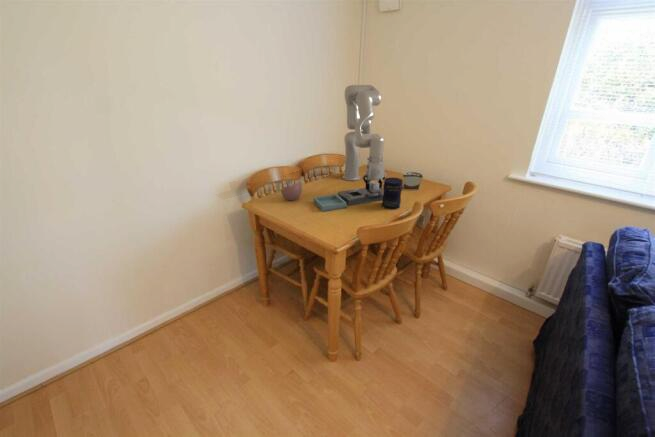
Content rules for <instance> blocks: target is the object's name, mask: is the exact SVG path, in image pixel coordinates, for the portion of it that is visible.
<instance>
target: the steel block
mask: <svg viewBox="0 0 655 437" xmlns="http://www.w3.org/2000/svg"><path fill="white" fill-rule="evenodd" d="M369 184H370V188H369V190H368V191H369V192H370V193H378V192H379V183H378V180H370V182H369Z"/></svg>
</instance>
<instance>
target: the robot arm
mask: <svg viewBox="0 0 655 437" xmlns="http://www.w3.org/2000/svg"><path fill="white" fill-rule="evenodd" d="M344 100H345V104H346V126H347V128H348V130H350V131H349V132H346V133H345V135H344V146H345V149H344V150H345V159H344V171H343V172H344V174H343V175H342V179H343V180H345V181H348V182H354V181H357V182H358V181H359V180H361V179H362V180H363V182H364V183H365V186H364V188H366V189H367V190H369V188H370V184H369V182H370V181H377V182H378V183H379V188H380V189H381V188H383V183H384V180H385V179H386V178H387V176H388V173H386V172H385V161H383V160H384V146H385V138H384V137H383V136H381V135H380V134H378V133H372V120H373V119H374V118H375V111H374V107H377V106H379V105H380V104H381V102H382V96H381V92H380V91H379V90H378V89H377V88H376V87H375V86H373V85H372V84H350V85H347V86H346V87H345V89H344ZM351 130H353V131H351ZM358 147H359V148H361V149H366V148H367V149H368V148H369V156H368V157H367V158H366V159H367V165H366V171H365V173H364V174H363V175H362V176H361V175H359V172H360V151H359V149H358Z"/></svg>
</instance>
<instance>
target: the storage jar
mask: <svg viewBox="0 0 655 437" xmlns="http://www.w3.org/2000/svg"><path fill="white" fill-rule="evenodd" d="M403 183H404V179H402V178H399V177H385V179H384V180H383V189H384V195H383V200H381V201H382V202H381V203H382V205H381V206H382V207H383V209H387V210H398V209H400V205H401V202H402V199H401V196H402V191H403Z"/></svg>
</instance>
